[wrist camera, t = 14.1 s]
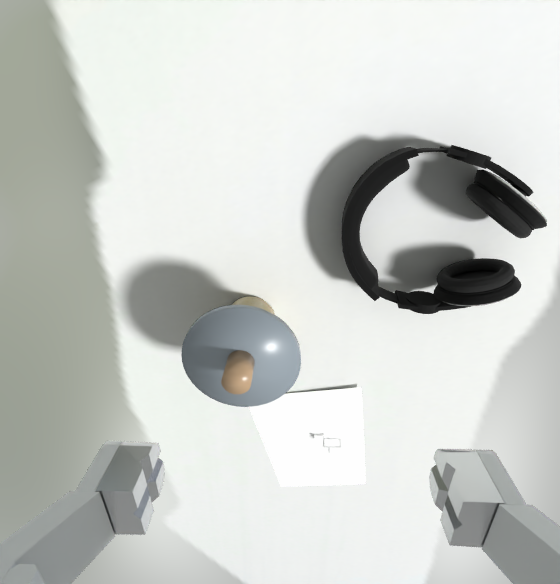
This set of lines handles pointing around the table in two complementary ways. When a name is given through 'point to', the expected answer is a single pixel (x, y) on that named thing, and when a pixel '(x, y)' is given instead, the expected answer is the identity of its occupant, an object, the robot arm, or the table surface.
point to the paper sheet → (314, 437)
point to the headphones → (459, 276)
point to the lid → (241, 355)
